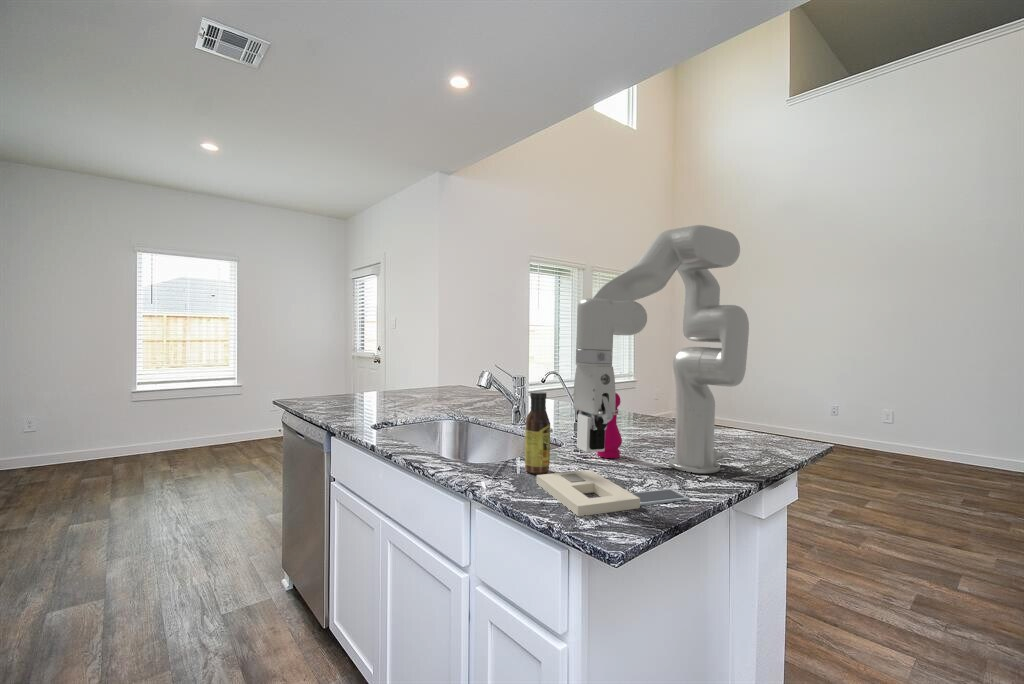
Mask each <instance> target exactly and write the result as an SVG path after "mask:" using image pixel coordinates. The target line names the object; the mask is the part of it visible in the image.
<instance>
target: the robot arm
mask: <svg viewBox="0 0 1024 684" xmlns="http://www.w3.org/2000/svg"><path fill="white" fill-rule="evenodd" d="M740 255H741V245H740V242H739V239H738V238H737V236H736V235H735V234H734V233H733V232H730V231H729V230H726V229H725V230H724V229H721V228H718V227H714V226H710V225H705V224H703V225H702V224H696V225H688V226H684V227H678V228H674V229H673V228H672V229H668V230H665V231H662V232H661V233H659V234H657V236H656V237H655V238H654V239H653V241H652V242H651V243H650V245H649V246H648V247H647V248H646V250H645V251H644V253H643V254H642V255H641V256H640V258H639V259H638V260H637V261H636V262H635V264H634V265H633V266H632V267H630V268H628V269H626V270H624V271H623V272H622V273H620V274H618V275H617V276H615V277H614V278H612V279H610V280H609V281H608V282H606V283H605V284H604V285H602V286H601V287H600V288H599V289H598V290H597V291H596V293H594V295H593V297H592V298H583V299H580V301H578V304H577V312H576V313H577V315H576V317H577V318H576V340H575V342H576V345H575V365H576V367H575V374H574V381H573V397H572V398H573V408H574V411H575V412H576V418H578V414H586V413H589V414H591V419H592V429H590V449H592V450H595V449H604V447H605V430H606V429H607V424H608V423H609V422H610V421H611V420H612V419H613V415H612V414H614V413H615V405H616V398H615V393H616V377H615V371H614V366H613V355H614V354H613V349H614V348H613V347H614V336H633V335H637V334H639V333H640V332H642V331H643V330H644V329H645V327H646V325H647V322H648V313H647V310H646V309H645V307H644V306H643V305H642V304H640V302H638V301H637V300H641V299H644V298H647V297H649V296H652V295H654V294H657V293H658V292H660V291H661V290H663V289H664V288H665V287H666V286H667V284H668V282H669V281H670V280H671V278H672V276H673V275H674V274H675V272H676V271H677V273H679V276H680V277H681V279H682V281H683V285H684V289H685V290H684V292H685V294H684V295H685V296H684V305H683V306H684V307H683V319H682V333H683V336H684V337H685V339H687V340H689V341H691V342H696V343H697V342H699V343H701V342H702V343H718V344H719V343H721V347H710V346H708V347H707V346H687V347H683V348H681V349H679V350H678V351H677V352H676V353H675V355H674V357H673V360H672V368H673V374H674V378H675V390H676V391H675V393H676V395H675V396H676V398H675V400H676V401H675V404H676V405H675V432H674V433H675V434H674V435H675V442H674V456H673V457H670V458H669V459H668V465H669V467H671V468H673V469H676V470H679V471H682V472H685V471H686V473H691V472H692V473H693V474H715V473H718V472H720V470H721V465H720V464H719V463H718V461H719V460H720V459H727V458H728V457H729V454H728V452H727V451H726V450H722V451H717V449H716V450H715V424H716V423H715V420H716V415H715V414H716V400H715V397H714V394H713V392H712V391H711V389H710V386H719V387H736V386H739V385H740V384H741V383H742V382H743V380H744V378H745V376H746V375H745V374H746V369H747V361H748V360H747V358H748V357H747V356H748V347H749V344H748V343H749V335H750V322H749V318H748V314H747V311H745V309H744V308H742V306H739V305H736V304H720V303H721V302H720V300H721V299H720V298H721V287H720V286H721V285H720V283H719V282H718V280H717V279H716V277H715V276H714V275H713V273H712V272H711V271H710V270H711V269H720V268H728V267H731V266H733V265H734V264H736V262H737V261H738V259H739V257H740ZM709 385H710V386H709ZM600 412H601V413H600ZM597 417H601V418H599V419H598V421H597ZM576 423H578V419H577V422H576Z"/></svg>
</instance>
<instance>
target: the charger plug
mask: <svg viewBox="0 0 1024 684" xmlns="http://www.w3.org/2000/svg"><path fill="white" fill-rule="evenodd" d="M599 418H601V417H597V421H598V419H599ZM577 420H578V423H577V422H576V423H577V425H576V426H577V428H576V431H577V432H576V448H577V449H579V450H581V451H583V452H585V453H594V452H596V453H597V452H598V451H605V447H604V449H595V450H592V449H590V429H592V419H591V414H589V413H586V414H578V417H577Z"/></svg>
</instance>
